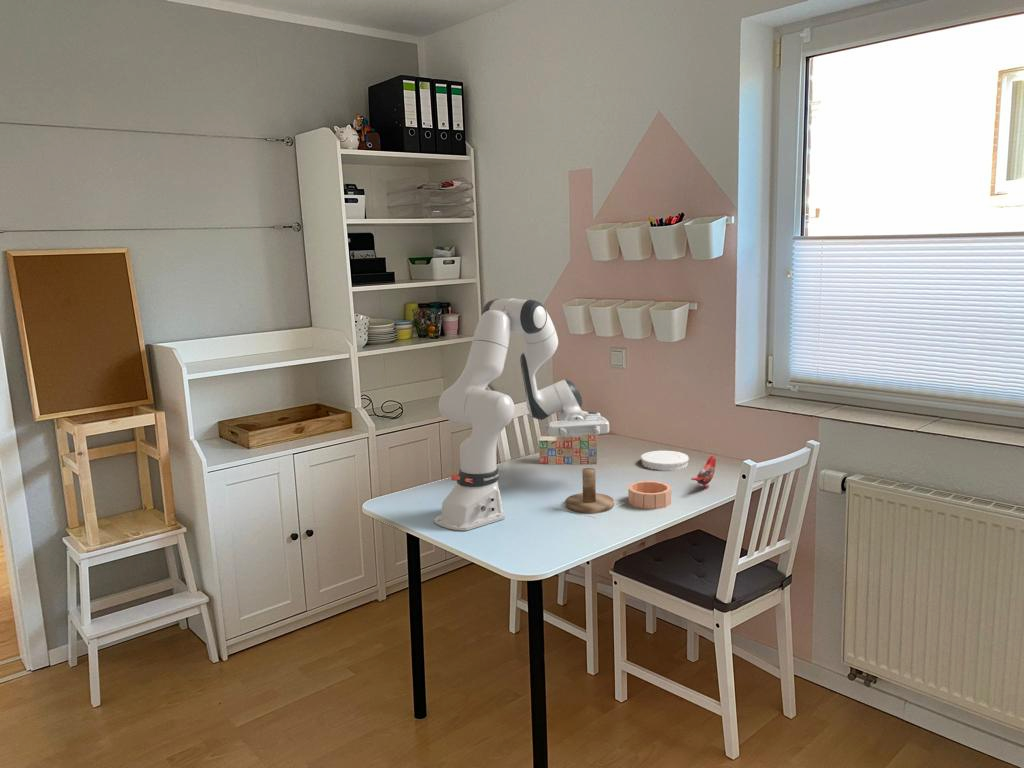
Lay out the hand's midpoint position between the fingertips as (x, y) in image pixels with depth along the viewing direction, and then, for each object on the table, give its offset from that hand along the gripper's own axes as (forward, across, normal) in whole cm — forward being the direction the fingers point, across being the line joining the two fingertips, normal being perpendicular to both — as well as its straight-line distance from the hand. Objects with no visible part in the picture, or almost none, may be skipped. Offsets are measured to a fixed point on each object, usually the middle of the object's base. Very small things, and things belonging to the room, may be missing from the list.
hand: (582, 433), depth 250 cm
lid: (-28, +35, +22) cm, 50 cm away
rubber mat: (+12, 0, +20) cm, 24 cm away
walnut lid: (+12, 0, +20) cm, 23 cm away
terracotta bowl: (+12, +19, +20) cm, 30 cm away
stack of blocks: (-37, +1, +21) cm, 42 cm away
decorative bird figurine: (+4, +39, +21) cm, 44 cm away
